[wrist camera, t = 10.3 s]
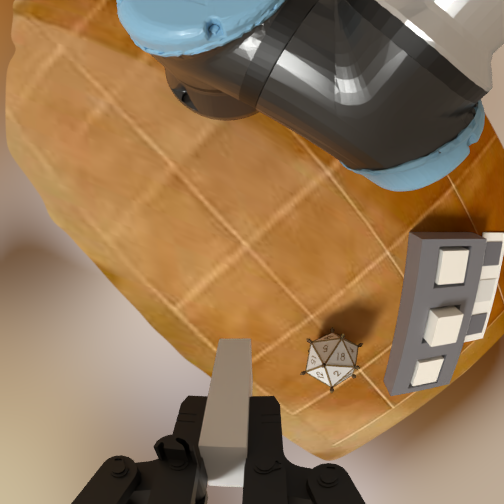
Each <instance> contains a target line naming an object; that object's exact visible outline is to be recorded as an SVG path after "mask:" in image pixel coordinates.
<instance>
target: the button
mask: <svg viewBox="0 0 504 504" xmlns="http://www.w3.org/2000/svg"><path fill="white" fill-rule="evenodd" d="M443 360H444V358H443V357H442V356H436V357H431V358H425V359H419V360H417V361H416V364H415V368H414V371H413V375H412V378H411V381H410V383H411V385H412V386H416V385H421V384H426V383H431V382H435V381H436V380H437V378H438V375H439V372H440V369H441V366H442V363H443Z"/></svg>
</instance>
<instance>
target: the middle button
mask: <svg viewBox="0 0 504 504" xmlns="http://www.w3.org/2000/svg"><path fill="white" fill-rule="evenodd" d="M463 315H464V314H463V313H462V312H461V311H460V310H458V309H457V308H456V307H455V306H446V307H438V308H429V313H428V318H427V322H426V326H425V331H424V335H423V338H424V339H425V340H426V341H427V343H428V344H429V345H430V346H431V347H434V346H439V345H445V344H450V343H456V340H457V337H458V334H459V330H460V326H461V323H462V319H463Z"/></svg>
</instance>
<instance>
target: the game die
mask: <svg viewBox="0 0 504 504" xmlns="http://www.w3.org/2000/svg"><path fill="white" fill-rule="evenodd" d="M330 330H331V333H330V334H328V335H325V336H323V337H321V338H319V339H317V340H314V341H311V340H310V339H307V342H309V343H310V349H309V351H308V352H309V354H308V360H307V365H306V371H303V372H301V374H300V375H304V374H306V373H307V374H309V375H311V376H312V377H314V378H316V379H317V380H319V381H321V382H322V383H324V384H326V385H328V386H329V387H331V389H330V392H331V393H332V392H333V391H334V389H333V387H334V386H336V385H337V384H339V383H341V382H342V381H344V380H346V379H347V378H349V377H350V376H352V377H353V378H356V375H354V374H353V373H354V370H355V369H357V370H358V369H360V367H359V366H356V361H357V354H358V347H361V346H362V345H363V343H360V344H358V345H356V344H354V343H352V342H350V341H349V340H347V339H345V338H344V337H345V335H344V333H343V334H341V336H339V335H337V334H336V333H334V328H333V327H332V328H331V329H330Z"/></svg>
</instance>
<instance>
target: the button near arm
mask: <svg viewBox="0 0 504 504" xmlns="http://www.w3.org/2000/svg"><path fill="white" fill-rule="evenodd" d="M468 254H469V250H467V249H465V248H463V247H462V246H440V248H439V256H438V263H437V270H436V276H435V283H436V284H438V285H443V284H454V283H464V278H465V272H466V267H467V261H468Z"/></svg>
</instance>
